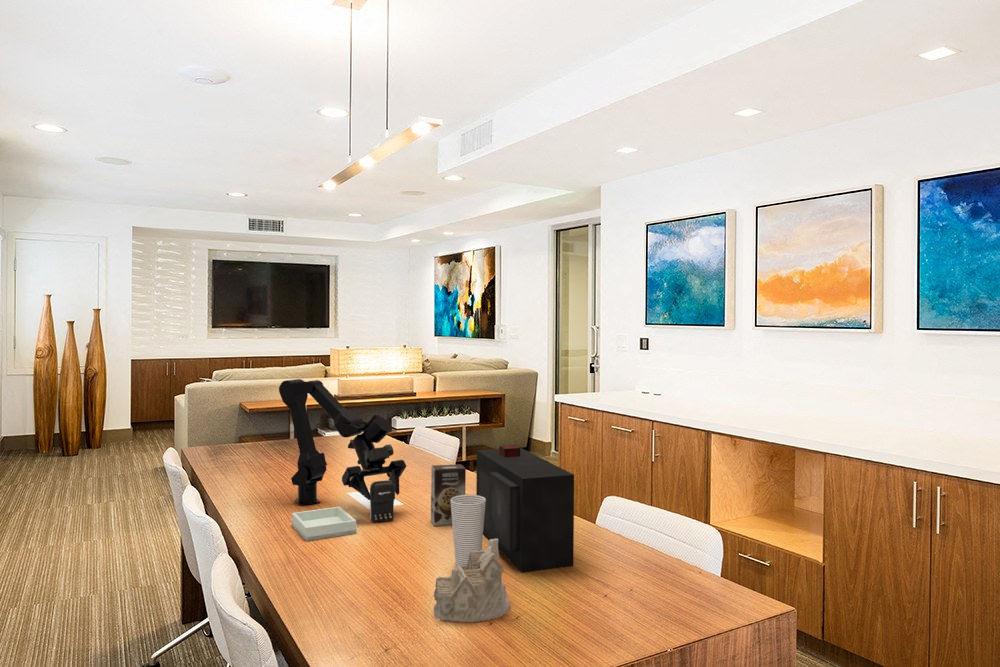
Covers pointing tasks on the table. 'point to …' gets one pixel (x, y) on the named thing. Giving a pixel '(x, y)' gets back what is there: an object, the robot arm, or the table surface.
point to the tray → (323, 523)
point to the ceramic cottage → (473, 589)
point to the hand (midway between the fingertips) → (384, 496)
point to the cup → (467, 525)
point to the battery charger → (382, 501)
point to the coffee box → (445, 491)
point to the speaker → (527, 508)
